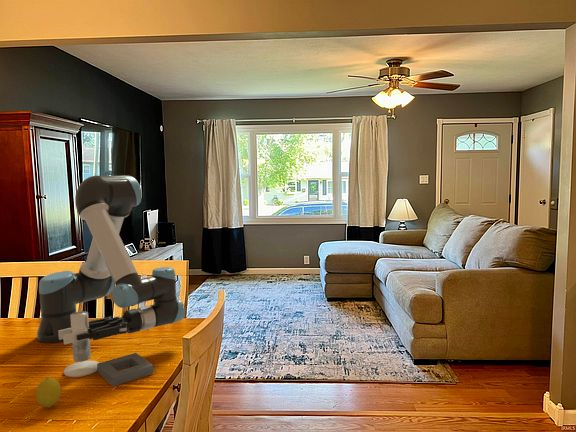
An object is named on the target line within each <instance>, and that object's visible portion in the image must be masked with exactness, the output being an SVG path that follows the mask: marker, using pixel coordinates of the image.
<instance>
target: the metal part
mask: <svg viewBox="0 0 576 432" xmlns="http://www.w3.org/2000/svg"><path fill="white" fill-rule="evenodd" d="M70 317H71V331H72V333H74V332H78V331H83V330H88V328H89V311H84V310H83V311H82V310H81V311H76V312H75V313H72V314H71V315H70ZM71 345H72V357H73V362H75V363H78V362H82V361H89V360H90V359H91V357H92V354H91V352H92V351H91V339H89V338H88V339H86V340H82V341H78V342H74V343H71Z"/></svg>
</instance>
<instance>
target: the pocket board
mask: <svg viewBox="0 0 576 432" xmlns="http://www.w3.org/2000/svg"><path fill="white" fill-rule="evenodd" d="M96 373H98V374H99V375H100V376H101V377H102V378H103V379H104V380H105V381H107V383H108V384H110V386H112V387H115V386H118V385H121V384H125V383H127V382H128V383H129V382H130V381H134V380H137V379H140V378H143V377H147V376H150V375H153V374H154V365H153V364H152V363H151V362H149V361H148V360H147V359H145V358H144V357H142V356H141V355H139V354H138V353H137V352H134V353H131V354H130V353H129V354H127V355H123V356H120V357H117V358H113V359H108V360H105V361H102V362H99V363H98V364H97V371H96Z"/></svg>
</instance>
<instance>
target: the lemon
mask: <svg viewBox="0 0 576 432" xmlns="http://www.w3.org/2000/svg"><path fill="white" fill-rule="evenodd" d="M61 389H62V388H61V385H60V382H59V381H58V380H57V379H56V378H53V377H49V376H46V377H45V378H44V379H42V380H41V381H40V382H39V383H38V384H37V387H36V390H35V391H36V392H35V398H36V401H37V403H38V404H39V405H40V406H42V407H45V408H49V409H50V408H51V407H53V405H55V404H57V402H58V401H59V400H60V398H61V392H62V390H61Z"/></svg>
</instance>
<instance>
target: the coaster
mask: <svg viewBox="0 0 576 432" xmlns="http://www.w3.org/2000/svg"><path fill="white" fill-rule="evenodd" d="M98 363H100V362H99V361H96V360H86V361H82V362H75V363H72V364H70V365H68V366H66V367H65V368H64V370H63V375H64V376H65V377H68V378H81V377H85V376H90V375H92V374H95V373H97V364H98Z"/></svg>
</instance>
